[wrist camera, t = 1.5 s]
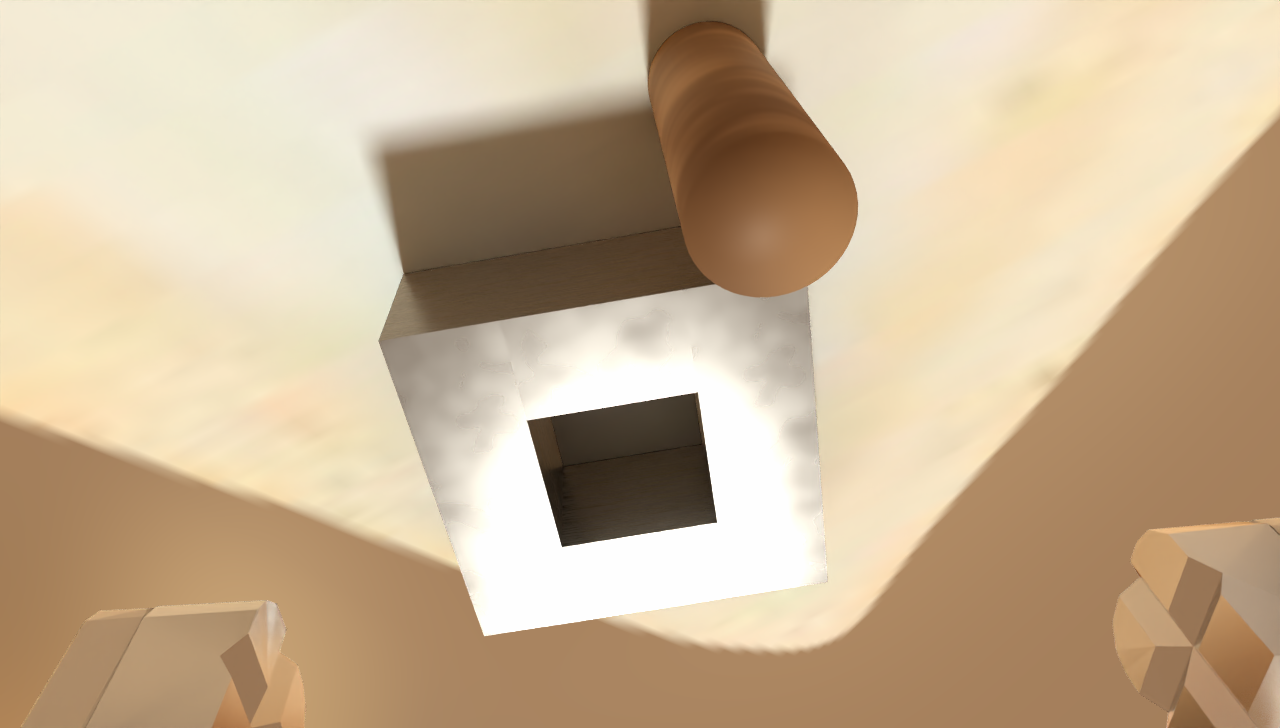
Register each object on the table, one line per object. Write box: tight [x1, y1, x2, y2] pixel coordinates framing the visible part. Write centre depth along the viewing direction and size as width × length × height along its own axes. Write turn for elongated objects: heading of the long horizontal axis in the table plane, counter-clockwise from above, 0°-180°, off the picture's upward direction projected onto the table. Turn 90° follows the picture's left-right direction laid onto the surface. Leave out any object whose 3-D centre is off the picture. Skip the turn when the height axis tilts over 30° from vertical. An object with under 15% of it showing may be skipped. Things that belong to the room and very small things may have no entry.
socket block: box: [379, 227, 828, 636], centre depth 35 cm, size 14×14×5 cm
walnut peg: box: [648, 21, 858, 297], centre depth 26 cm, size 4×4×12 cm
